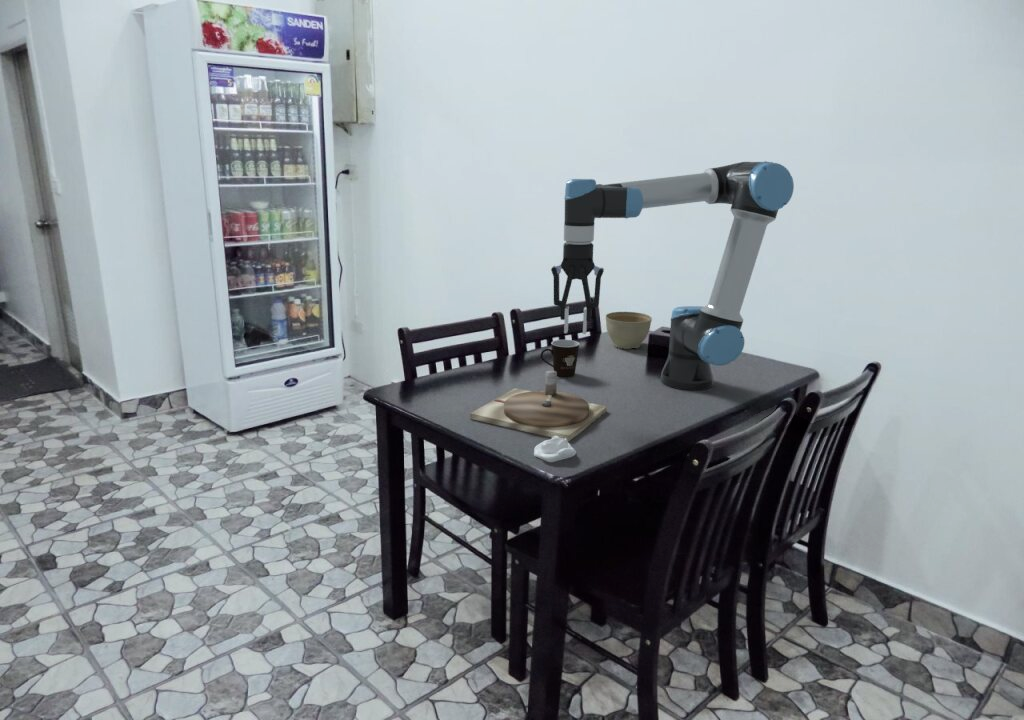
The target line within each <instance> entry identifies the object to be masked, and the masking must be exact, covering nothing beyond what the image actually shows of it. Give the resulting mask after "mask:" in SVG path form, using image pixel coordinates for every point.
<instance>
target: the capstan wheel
mask: <svg viewBox="0 0 1024 720" xmlns="http://www.w3.org/2000/svg"><path fill="white" fill-rule="evenodd" d="M557 380H558V377H557V372H556V371H554V370H546V371H545V385H544V386H545V387H544V390H533V391H532V392H525V393H520V394H517V395H514V396H512V397H510V398H508V399H507V400H506V401H505V402H504V413H505V415H506V416H507V417H508V418H510V419H511V420H513V421H516V422H518V423H522V424H525V425H531V426H538V427H560V426H568V425H572V424H576V423H579V422H581V421H583V420H585V419H586V418H587V417H588V415H589V404H588V403H589V402H588V401H586V400H585V399H583V398H582V397H580V396H577V395H574V394H572V393H569V392H561V391H557V384H558V382H557Z"/></svg>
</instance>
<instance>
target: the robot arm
mask: <svg viewBox="0 0 1024 720" xmlns="http://www.w3.org/2000/svg"><path fill="white" fill-rule="evenodd" d="M794 185H795V184H794V179H793V177H792V175H791V173H790V171H789V169H788V168H787V167H786V166H784V165H782V164H780V163H778V162H772V161H766V160H765V161H742V162H735V163H732V164H728V165H723V166H719V167H713V168H712V167H711V168H707V169H705V170H704V172H701V173H693V174H685V175H675V176H668V177H658V178H650V179H642V180H634V181H623V182H618V183H609V184H601V183H599V184H597V182H596V180H595V179H592V178H570V179H568V180H567V181H566V183H565V188H564V190H565V191H564V192H565V193H564V198H563V199H564V223H563V241H564V243H563V247H562V249H563V250H562V251H563V252H562V253H563V254H562V261H561V264H558V265H554V266H552V268H551V269H550V270H551V273H552V277H553V305H555V306H557V307H559V308H560V320H561V321H564V326H563V333H564V334H568V331H569V316H570V315H569V313H570V311H569V309H570V306H567V301H568V299H569V294H570V290H571V286H572V283H573V282H572V281H573V280H580V281H581V283H582V289H583V294H584V300H585V307H583V315H582V316H583V318H582V335H587V327H588V326H587V325H588V322H591V320H592V309H593V308H597V307H599V305H600V295H601V294H600V293H601V283H602V276H603V274H604V272H605V268H603V267H599V266H597V265H595V262H594V244H593V243H592V242H593V241H594V238H595V220H596V219H601V218H602V219H625V220H627V219H629V218H637V217H639V216H640V215H641V212H643V211H642V210H643V209H650V208H659V207H667V206H677V205H684V204H691V203H692V204H693V203H700V202H705V203H707V204H708V205H713V204H727V205H731V207H730V212H731V214H732V216H733V220H732V224H731V228H730V230H729V233H728V237H727V241H726V243H725V247H724V251H723V254H722V256H721V257H722V258H721V260H720V264H719V267H718V270H717V273H716V278H715V280H714V284H713V286H712V287H713V288H712V291H711V293H710V297H709V300H708V304H706V305H705V306H699V305H698V306H697V305H692V306H691V305H690V306H685V305H684V306H677V307H673V309H672V312H671V317H670V332H669V342H668V343H669V345H668V355H667V358H666V360H665V363H664V366H663V368H662V370H661V373H660V382H661V383H662V384H664V385H666V386H667V387H671V388H675V389H679V390H688V391H697V390H698V391H701V390H705V389H709V388H711V387H712V386H713V381H714V376H713V371H712V368H711V365H712V366H721V367H722V366H725V365H729V364H730V363H731V362H734V361H736V360H737V359H738V358H739V356H740V355H741V354H742V352H743V350H744V347H745V337H744V335H743V332H742V331H741V329H742V326H743V323H744V318H743V317H742V315H741V309H742V307H743V303H744V301H745V300H744V299H745V297H746V295H747V291H748V288H749V285H750V280H751V277H752V275H753V271H754V268H755V265H756V262H757V259H758V256H759V253H760V249H761V246H762V244H763V240H764V236H765V233H766V229H767V228H768V225H769V224H770V223H772V222H774V221H775V220H776V218H777V215H778V212H779V210H780V209H782V208H784V207H785V206H786V205H787V204H789V202H790V201H791V198H792V197H793V194H794ZM562 271H563V272H564V274H565V275H566V282H565V285H564V291H563V293H562V294H563V295H562V298H561V300H560V274H561V273H562ZM592 271H594V273H593V274H594V276H595V283H594V296H593V301H592V298H591V297H592V296H591V291H590V286H589V279H588V276H589V275H590V273H592Z"/></svg>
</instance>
